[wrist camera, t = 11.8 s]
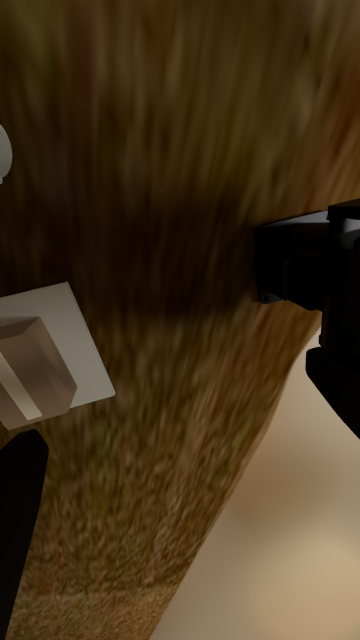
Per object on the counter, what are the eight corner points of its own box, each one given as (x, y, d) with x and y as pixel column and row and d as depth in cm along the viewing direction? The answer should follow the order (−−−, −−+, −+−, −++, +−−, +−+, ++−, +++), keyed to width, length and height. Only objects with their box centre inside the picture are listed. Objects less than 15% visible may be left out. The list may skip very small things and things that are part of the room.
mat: (67, 281, 17) (66, 282, 16) (115, 392, 21) (114, 395, 21) (-74, 315, 16) (-79, 317, 15) (7, 422, 20) (5, 426, 20)
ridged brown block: (77, 386, 20) (67, 414, 17) (26, 401, 19) (7, 432, 17) (40, 316, 17) (20, 335, 14) (-22, 332, 17) (-55, 354, 14)
